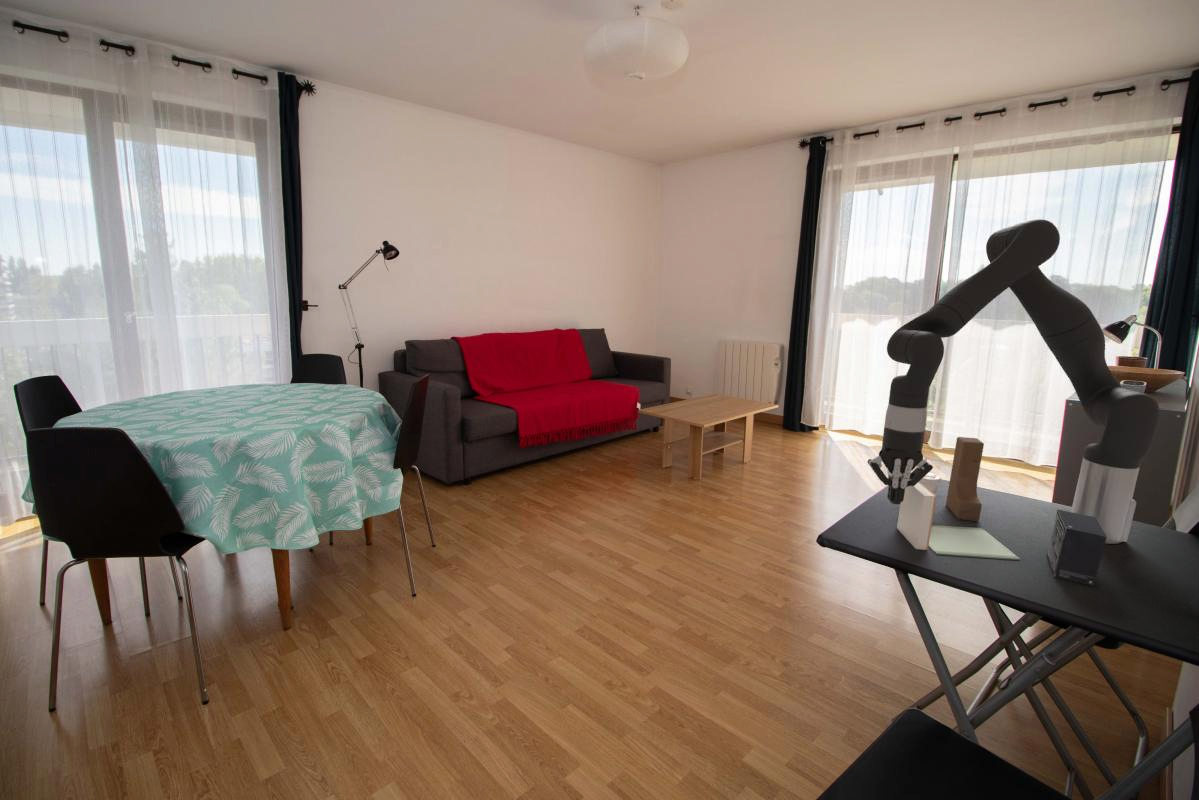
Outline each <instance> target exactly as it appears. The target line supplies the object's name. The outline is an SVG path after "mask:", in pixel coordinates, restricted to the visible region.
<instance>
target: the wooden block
mask: <svg viewBox="0 0 1199 800" xmlns="http://www.w3.org/2000/svg"><path fill="white" fill-rule="evenodd" d="M984 445H985V444H984V443H983V441H982V440H980V439H978V438H975V437H963V436H958V437H956V442H955V449H954V454H953V459H952V465H951V471H950V478H949V484H948V488H947V490H948V491H947V496H946V502H945V505H946V506H947V508H948V509H949V510H950V511H951V513H953V515H954V516H955V517H956V518H957V520H962V521H972V522H979V521H980V517H981V511H982V506H983V504H982V502H981V501H980V499H979V497H978V481H979V475H980V468H981V463H982V459H983V452H984V447H985V446H984Z"/></svg>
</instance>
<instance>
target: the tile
mask: <svg viewBox="0 0 1199 800" xmlns="http://www.w3.org/2000/svg"><path fill="white" fill-rule="evenodd" d="M936 502H937V495H936V494H935V495H934V494H933V493H932V492H931V491H929V490H928V489H927V488H926V487H925V486H923V485H922V484H921V483H920V482H918V483H917V484H916V485H915V486H908V487H906V488H905V493H904V500H903V502H901V504H899V510H898V518H897V524H896V529H897V530H898V531H899V532H900V533H901V534H902V535H903V536H904V538H905V539H906V540H907V541H908V542H909V544H911V545H912V547H913V548H914V549H915V550H924V551H928V550H929V540H930V534H931V528H932V525H933V521H934V516H935V515H934V514H935V508H936Z"/></svg>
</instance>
